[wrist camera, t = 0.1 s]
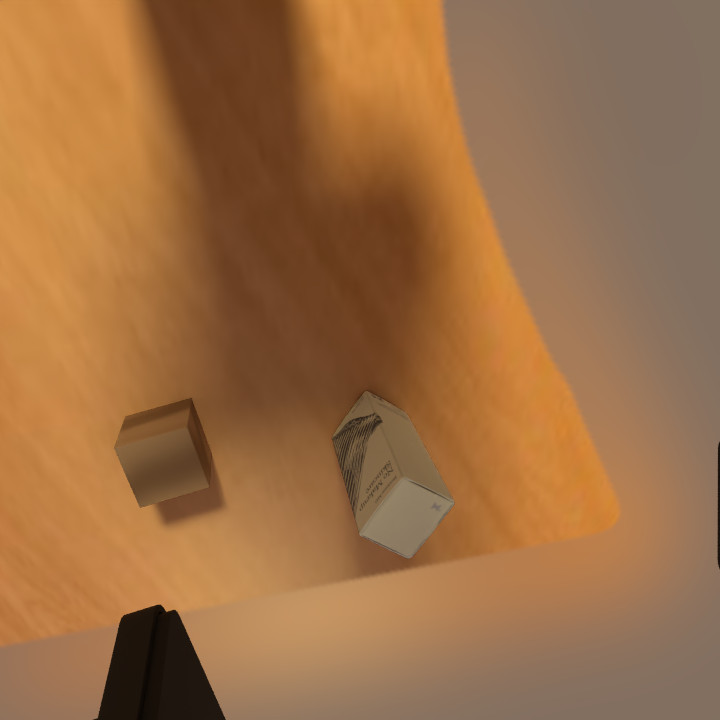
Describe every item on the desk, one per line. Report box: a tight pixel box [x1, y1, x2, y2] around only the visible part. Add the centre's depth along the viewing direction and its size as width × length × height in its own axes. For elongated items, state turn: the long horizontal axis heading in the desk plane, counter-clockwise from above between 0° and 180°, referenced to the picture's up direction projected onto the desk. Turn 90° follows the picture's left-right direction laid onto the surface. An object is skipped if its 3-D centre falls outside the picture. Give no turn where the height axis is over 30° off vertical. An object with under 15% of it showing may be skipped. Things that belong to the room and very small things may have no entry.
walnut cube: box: [114, 398, 212, 508], centre depth 46 cm, size 5×5×5 cm
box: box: [332, 391, 455, 559], centre depth 45 cm, size 5×4×13 cm
